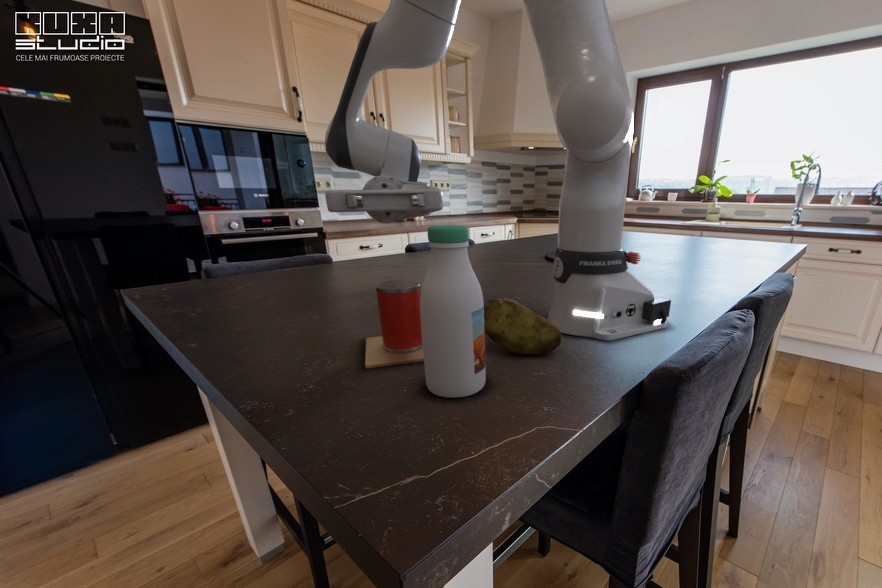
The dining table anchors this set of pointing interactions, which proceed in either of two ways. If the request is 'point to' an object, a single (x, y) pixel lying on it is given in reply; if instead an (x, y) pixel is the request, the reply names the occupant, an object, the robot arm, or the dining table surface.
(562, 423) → the dining table surface
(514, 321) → the potato
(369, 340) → the cork mat
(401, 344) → the tomato tin
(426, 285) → the milk bottle
